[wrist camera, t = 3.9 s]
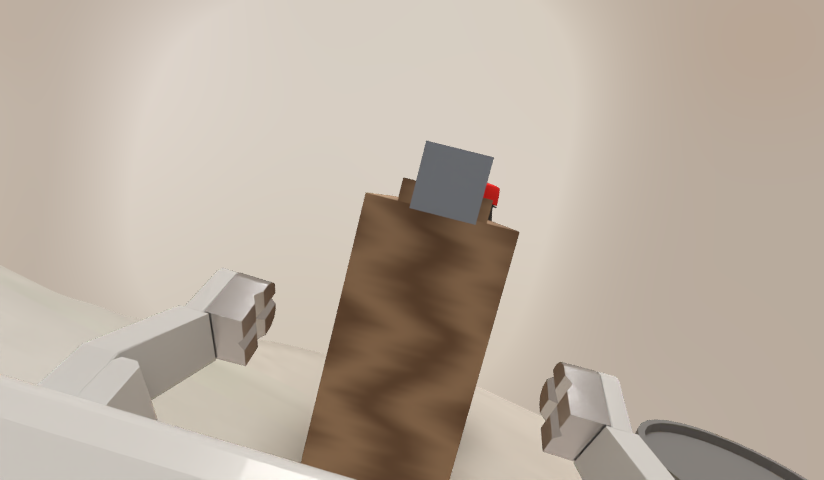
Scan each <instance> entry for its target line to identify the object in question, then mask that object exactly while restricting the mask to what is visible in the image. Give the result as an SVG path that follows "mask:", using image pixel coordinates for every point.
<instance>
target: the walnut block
mask: <svg viewBox="0 0 824 480" xmlns="http://www.w3.org/2000/svg"><path fill="white" fill-rule="evenodd" d="M415 184H416V181H415V180H411V179H407V178H403V181H402V185H401V189H400V194H399V197H396V196H390V195H382V194H373V193H366V194H365V199H364V202H363V206H362V210H361V215H360V219H359V223H358V227H357V231H356V236H355V240H354V244H353V248H352V252H351V256H350V260H349V265H348V269H347V273H346V277H345V282H344V285H343V290H342V294H341V298H340V302H339V306H338V310H337V314H336V319H335V323H334V327H333V331H332V335H331V340H330V344H329V348H328V352H327V356H326V360H325V364H324V369H323V373H322V377H321V381H320V385H319V389H318V394H317V398H316V402H315V406H314V410H313V414H312V418H311V423H310V427H309V431H308V435H307V439H306V443H305V448H304V452H303V456H302V460H301V463H302V464H305V465H309V466H312V467H315V468H319V469H322V470H325V471H329V472H332V473H336V474H339V475H342V476H346V477H349V478H352V479H356V480H449V479H450V476H451V472H452V469H453V465H454V462H455V458H456V454H457V451H458V447H459V444H460V440H461V437H462V433H463V430H464V426H465V423H466V419H467V416H468V412H469V409H470V405H471V402H472V398H473V394H474V391H475V387H476V384H477V380H478V377H479V373H480V370H481V366H482V363H483V359H484V356H485V352H486V348H487V345H488V341H489V338H490V334H491V331H492V327H493V324H494V320H495V317H496V313H497V310H498V306H499V303H500V299H501V296H502V292H503V289H504V285H505V281H506V278H507V274H508V271H509V267H510V264H511V260H512V257H513V253H514V250H515V246H516V243H517V239H518V235H519V232H518V231H516V230H513V229H510V228H508V227H505V226H503V225H500V224H497V223H495V222H492V221H489V220H488V217H489V214H490V210H491V206H492V203H493V200H490V199H486V198H483V199H482V203H481V207H480V210H479V214H478V218H477V222H476V225H474V224H470V223H466V222H462V221H458V220H454V219H451V218H447V217H443V216H439V215H435V214H431V213H427V212H423V211H419V210H416V209H412V208H409V207H410V203H411V199H412V195H413V192H414V188H415Z"/></svg>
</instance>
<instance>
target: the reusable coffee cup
mask: <svg viewBox="0 0 824 480" xmlns="http://www.w3.org/2000/svg"><path fill="white" fill-rule="evenodd" d="M635 434H637V435H639V436H640V437H641V439H642V440H643V441H644V442H645V443H646V445H647V446H648V447H649V448H650V449H651V451H652V452H653V453H654V454H655V456H656V457H657V458H658V459H659V460H660V462H661V463H662V464H663V465H664V467H665V468H666V469H667V470H668V471H669V473H670V474H671V475H672V476H673V478H674V479H675V480H807V479H805V478H804V477H802V476H801V475H799V474H797V473H796V472H794V471H792V470H790V469H788V468H787V467H785V466H783V465H781V464H779V463H777V462H776V461H774V460H772V459H770V458H768V457H766V456H764V455H762V454H760V453H758V452H756V451H754V450H752V449H749V448H747V447H745V446H743V445H740V444H738V443H736V442H734V441H731V440H729V439H727V438H724V437H722V436H719V435H717V434H714V433H711V432H708V431H705V430H702V429H699V428H696V427H693V426H689V425H686V424H682V423H677V422H672V421H667V420H647V421H645V422H643V423H641V424H640V426H639V427H638V429H637V431H636V433H635Z"/></svg>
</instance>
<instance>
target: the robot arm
mask: <svg viewBox="0 0 824 480" xmlns="http://www.w3.org/2000/svg"><path fill="white" fill-rule="evenodd" d="M274 294H275V284H274V283H272V282H269V281H266V280H263V279H259V278H256V277H253V276H249V275H246V274H243V273H239V272H235V271H232V270H229V269H225V268H222V269H219V270H218V271H216V272H215V274H214V275H213V276H212V277H211V278H210V279H209V280H208V281H207V282H206V283H205V284H204V285H203V287H202V288H201V289H200V290H199V291H198V292H197V293H196V294H195V295H194V296H193V297H192V299H191V300H190V301H189V302H188V303H187V304H186V305H185V306H180V305H178V306H176V307H173V308H171V309H168V310H166V311H163V312H161V313H158V314H156V315H153V316H151V317H148V318H145V319H143V320H140V321H138V322H135V323H133V324H130V325H128V326H125V327H123V328H120V329H118V330H115V331H112V332H110V333H107V334H105V335H102V336H100V337H97V338H95V339H92V340H90V341H87V342H85V343H82V344H81V345H80V346H79V347H78V348H77V349H76V350H75V351H74V352H72V353H71V354H70V355H69V356H68V357H67V358H66V359H65V360H64V361H63V362H61V363H60V364H59V365H58V366H57V367H56V368H55V369H54V370H53V371H52V372H51V373H49V374H48V375H47V376H46V377H45V378H44V379H43V380H42V381H41V382H40V383H39V384H37V385H36V384H32V383H29V382H26V381H22V380H19V379H15V378H12V377H9V376H5V375H2V374H0V480H356V479H352V478H349V477H346V476H342V475H339V474H336V473H332V472H329V471H325V470H322V469H319V468H315V467H312V466H309V465H305V464H302V463H298V462H295V461H292V460H288V459H285V458H282V457H278V456H275V455H271V454H268V453H265V452H261V451H258V450H255V449H251V448H248V447H244V446H241V445H238V444H234V443H231V442H228V441H224V440H221V439H217V438H214V437H211V436H207V435H204V434H201V433H197V432H194V431H191V430H187V429H184V428H180V427H177V426H174V425H170V424H167V423H164V422H160V421H157V415H156V413H155V410H154V407H153V404H152V401H151V400H153V399H154V398H156V397H157V396H159V395H161V394H162V393H164V392H166V391H167V390H169V389H170V388H172V387H174V386H175V385H177V384H178V383H180V382H182V381H183V380H185V379H186V378H188V377H190V376H191V375H193V374H194V373H196V372H198V371H199V370H201V369H203V368H204V367H206V366H207V365H209V364H211V363H212V362H214V361H215V360H216V359H220V360H224V361H228V362H232V363H235V364H239V365H243V366H246V365H247V363H248V362H249V360H250V358H251V357H252V355H253V354H254V352H255V351H256V349H257V348H258V343H257V339H259V338H260V337H262V336H264V335H266V333H267V331H268V330H269V328H270V326H271V324H272V321H273V319H274V315H275V309H276V308H275V302H274V301H273V300H272V297H273V295H274ZM553 373H554V377H552V378H549V379H547V380H546V382H545V384H544V386H543V388H542V391H541V395H540V413H541V415H542V416H543V418H544V419H545V423H544V424H543V426H542V427H541V435H542V448H543V452H546V453H549V454H552V455H555V456H559V457H562V458H565V459H568V460H571V461H574V465H575V467H576V468H577V470H578V472H579V474H580V476H581V477H582V479H583V480H675V479H674V478H673V476H672V475H671V474H670V473H669V471H668V470H667V469H666V468H665V467H664V465H663V464H662V463H661V462H660V460H659V459H658V458H657V457H656V456H655V454H654V453H653V452H652V451H651V449H650V448H649V447H648V446H647V445H646V443H645V442H644V441H643V440H642V439H641V437H640V436H639V435H637V434H634V433H633V432H632V428H631V424H630V420H629V417H628V413H627V409H626V405H625V402H624V398H623V394H622V390H621V386H620V383H619V380H618V379H617V377H615V376H612V375H607V374H604V373H601V372H596V371H594V370H590V369H586V368H582V367H579V366H575V365H571V364H567V363H563V362H559V363H558V364H557V365H556V366H555V368H554V370H553Z"/></svg>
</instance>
